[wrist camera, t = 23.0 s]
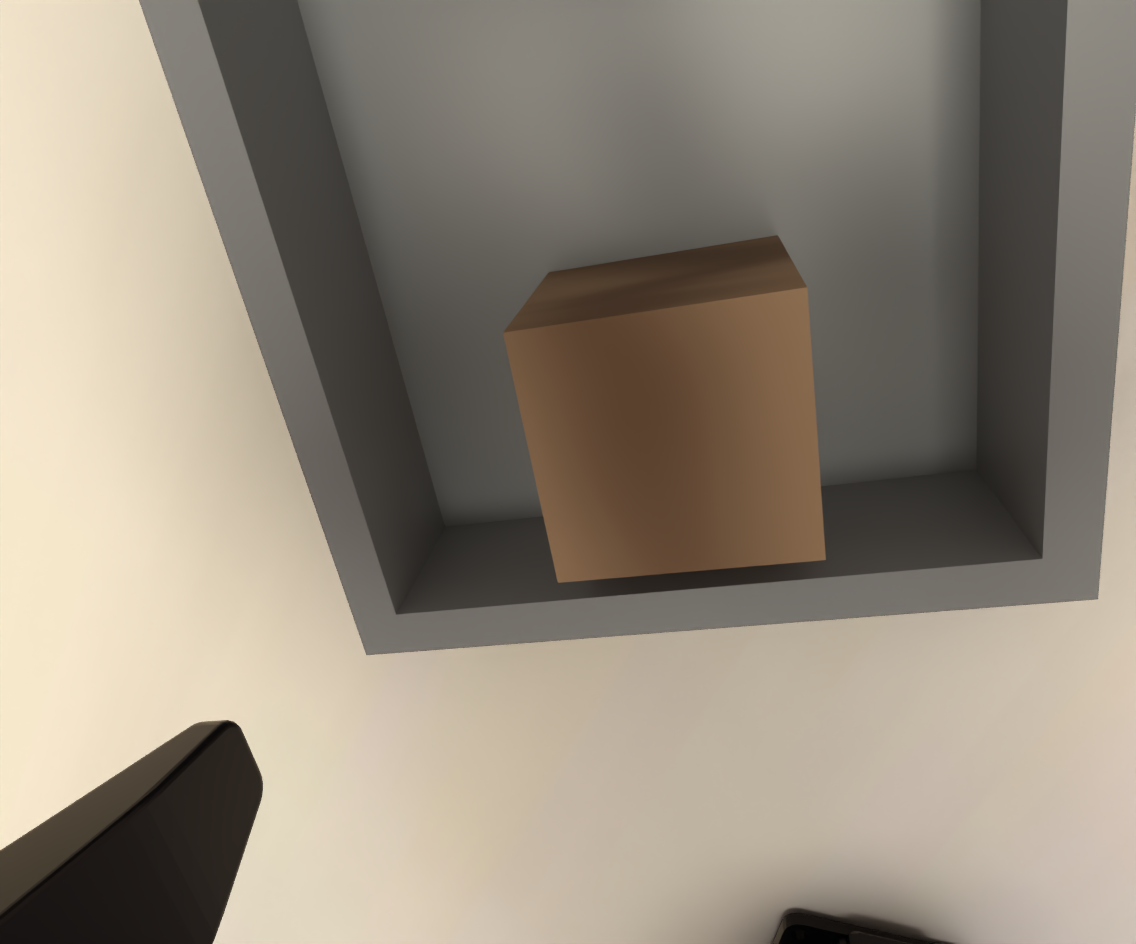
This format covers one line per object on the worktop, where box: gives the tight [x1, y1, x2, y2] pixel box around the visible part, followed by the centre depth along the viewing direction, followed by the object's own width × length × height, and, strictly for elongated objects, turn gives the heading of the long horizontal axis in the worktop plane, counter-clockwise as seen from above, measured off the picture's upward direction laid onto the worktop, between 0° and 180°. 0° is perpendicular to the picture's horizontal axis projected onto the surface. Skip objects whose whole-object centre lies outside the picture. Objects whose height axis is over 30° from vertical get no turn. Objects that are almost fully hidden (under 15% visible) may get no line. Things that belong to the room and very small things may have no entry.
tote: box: [139, 0, 1136, 655], centre depth 15 cm, size 22×15×5 cm
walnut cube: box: [503, 235, 826, 583], centre depth 17 cm, size 5×5×5 cm
